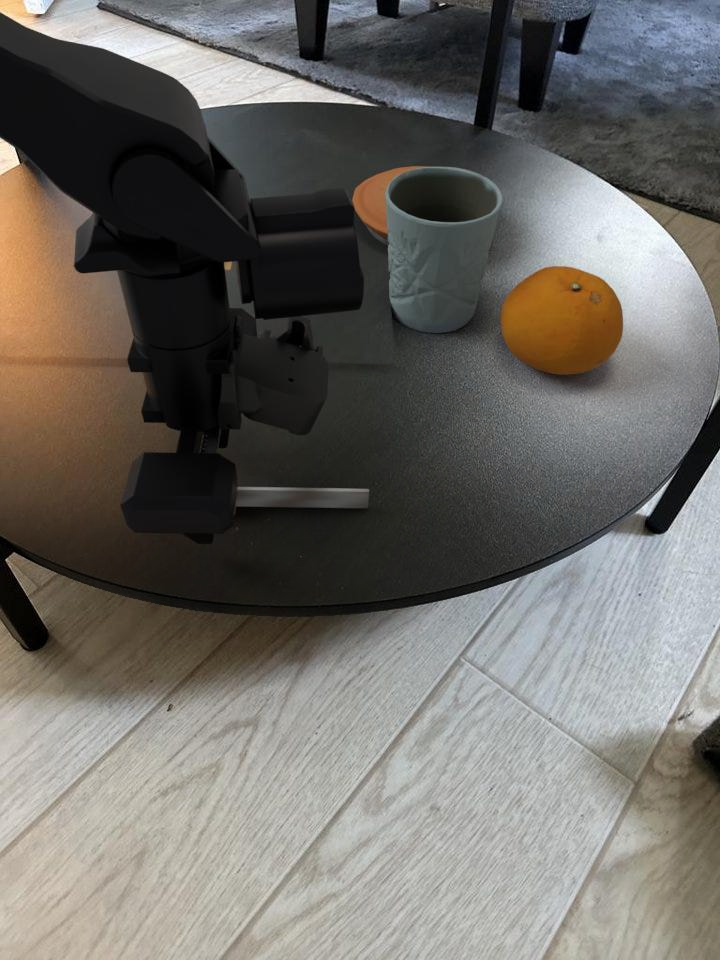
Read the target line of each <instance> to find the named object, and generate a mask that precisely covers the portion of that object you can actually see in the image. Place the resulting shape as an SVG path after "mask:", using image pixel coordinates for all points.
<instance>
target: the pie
mask: <svg viewBox="0 0 720 960" xmlns="http://www.w3.org/2000/svg"><path fill="white" fill-rule="evenodd" d="M422 167H426V166H423V165H413V166H412V165H411V166H403V167H397V168H396V167H395V168H392V169H389V170H386V171H383V172H380V173H377V174H375V175H373V176H371V177H369V178H367V179H365V180H363V182H361V183H360V184H359V185H358V186H356V187H355V188H354V192H353V195H352V198H351V201H352V203H353V205H354V208H355V209H354V212H356V214H357V216H358V217H359V218H360V220H361V221H362V222H363V224H364V225H365V227H366V228H367V230H368V231H369V232H370V234H371V235H372V237H374V239H376V240H378V241H379V242H380V243H382V244H383V245H385V246H388V245H389V244H390V243H389V242H388V233H387V216H386V198H385V193H386V189H387V187H388V185H389V183H390V182H391V181H392V180H393V179H394V178H395V177H396V176H398V175H400V174H402V173H404V172H406V171H410V170H413V169H417V168H422Z"/></svg>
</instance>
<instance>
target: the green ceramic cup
mask: <svg viewBox="0 0 720 960" xmlns="http://www.w3.org/2000/svg"><path fill="white" fill-rule="evenodd" d="M385 198H386V216H387V233H388V242H389V243H390V244H389V245H387V254H388V256H387V259H388V272H389V280H388V292H389V293H388V294H389V295H388V296H389V302H390V311H391V313H392V315H393V317H394V318H395V319H396V320H397V321H398V322H400V323H401V324H402V325H404V326H406V327H407V328H410V329H412V330H415V331H418V332H421V333H422V332H423V333H429V334H431V333H432V334H443V333H451V332H455V331H457V330H459V329H462V328H463V327H464V326H466V325H467V324H469V322H470V321H471V320H472V318H473V317H474V315H475V313H476V308H477V304H478V301H479V295H480V292H481V281H482V279H483V278H484V277H485V271H486V269H487V268H486V267H487V263H488V260H489V250H490V249H491V246H492V242H493V239H494V236H495V233H496V229H497V226H498V225H497V224H498V221H499V218H500V214H501V210H502V206H503V202H504V200H503V199H504V198H503V194H502V192H501V190H500V188H499V186H498V185H497V184H496V183H495V182H493V181H492V180H490V179H489V178H488V177H486V176H485V175H482V174H480V173H477V172H475V171H472V170H469V169H464V168H460V167H454V166H425V167H422V168H417V169H413V170H410V171H406V172H404V173H402V174H400V175H398V176H396V177H395V178H394V179H393V180H392V181H391V182H390V183H389V185H388V187H387V189H386V193H385Z"/></svg>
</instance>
